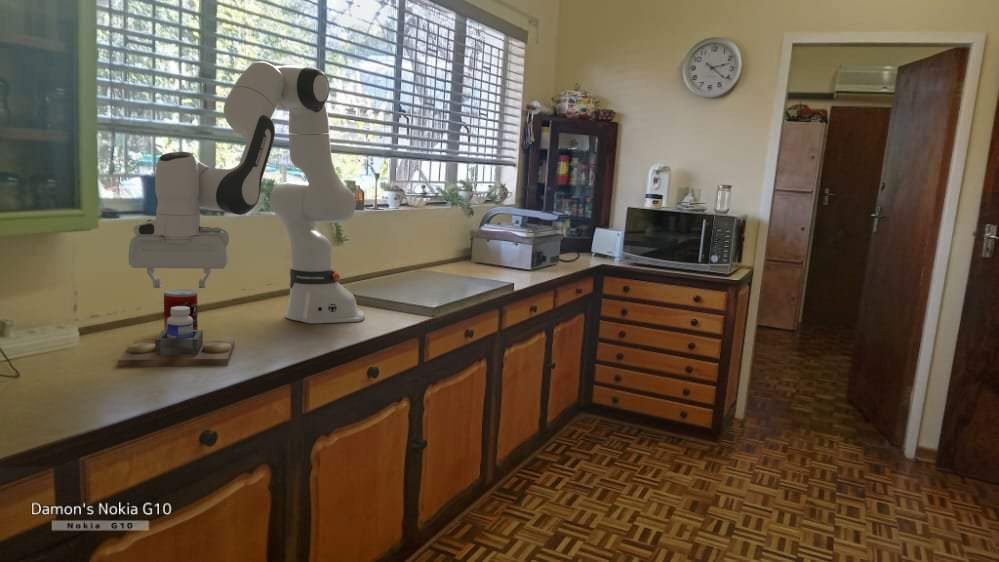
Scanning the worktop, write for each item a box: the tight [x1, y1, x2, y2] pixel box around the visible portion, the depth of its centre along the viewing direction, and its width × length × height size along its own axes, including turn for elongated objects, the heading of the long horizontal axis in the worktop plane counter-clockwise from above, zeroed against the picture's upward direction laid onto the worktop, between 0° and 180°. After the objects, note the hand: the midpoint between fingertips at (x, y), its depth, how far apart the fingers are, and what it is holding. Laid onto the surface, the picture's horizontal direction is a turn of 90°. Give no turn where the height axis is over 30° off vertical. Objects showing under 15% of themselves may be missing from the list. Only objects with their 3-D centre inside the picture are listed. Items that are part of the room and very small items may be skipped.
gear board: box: [117, 329, 236, 368], centre depth 164 cm, size 22×16×5 cm
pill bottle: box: [167, 306, 193, 338], centre depth 163 cm, size 5×5×10 cm
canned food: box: [163, 288, 199, 330], centre depth 182 cm, size 8×8×11 cm
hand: (180, 287), depth 162 cm, fingers open, 8 cm apart
